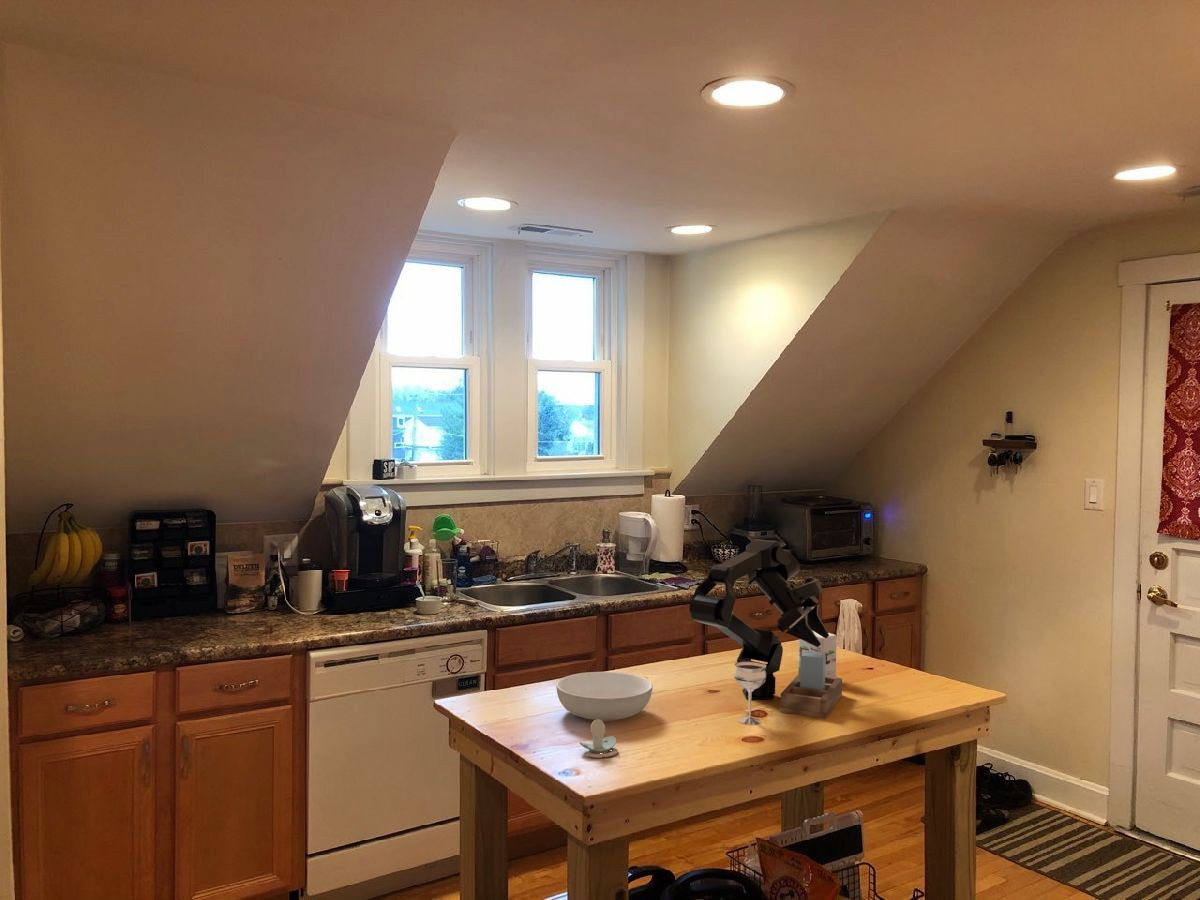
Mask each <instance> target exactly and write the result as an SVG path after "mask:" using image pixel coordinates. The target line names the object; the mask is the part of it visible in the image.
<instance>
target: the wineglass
mask: <svg viewBox="0 0 1200 900" xmlns="http://www.w3.org/2000/svg"><path fill="white" fill-rule="evenodd" d="M764 663H765V662H762V661H757V660H751V661H740V662H737V661H736V662H735V663H734V665H735V670H734V676H733V677H734V679H735V682H736V683H737V684H738V685H739V687H742V689H744V688H745V689H746V690H747V691H748V699H747V700H748V703H747V705H748V708H747V709H748V716H742V717H739V718H738V719H737V722H739V723H740V724H743V725H748V726H749V725H750V726H751V725H754V726H755V725H758V724H759V725H760V724H761V723H762V720H761V719H760V718H757V717H754V716H751V713H752V711H751V710H752V700H753V699H752V692H753V691H754V689H757V688H759V687H760V686H761V685H763V684H764V682H765V680H766V671H765V668H766V665H765V664H766V663H765V664H764Z"/></svg>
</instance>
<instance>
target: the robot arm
mask: <svg viewBox="0 0 1200 900" xmlns="http://www.w3.org/2000/svg"><path fill="white" fill-rule="evenodd" d="M780 543H781V542H779V541H775V540H767V539H766V540H765V539H757V538H755V539H753V540H751V541H750V542H749V543H748V544H747V545H746V546H745V550H744V551H743V552H741V553H739V554H737V555H735V556H733V557H731V558H729V559H728V560H726V561H723V562H722V563H720V564H717V565H716V564H715V565H712V566H711V567H710V570H709V572H708V574H707V577H706V578H704V579H703V581H701V582H700V584H698V585H697V587H696V588H695V590H694V593H693V595H692V598H691V601H690V603H689V610H688V611H689V613H690V618H691V619H692V620H693V621H694V622H697V623H701V624H705V625H708V626H712V627H715V628H717V629H718V630H719V631H721V633H723V634H725V635H726V636H728V637H729V638H731V640H733V641H734V642H736V643H738V644H739V645H741V646H742V648H741V650H740V653H739V654H738V656H737V659H736V663H737V662H740V661H756V662H761V663H764V664H765V665H766V668H765V671H766V680H765V682H764V684H763V685H761V686H760V687H759V688H757V689H754V691H753V692H752V699H751V700H775V694H776V678H777V677H775V673H777V672H779V671H780V668H781V664H782V658H783V655H784V654H783V652H784V650H783V649H784V648H783V645H782V642H781V641H780V638H779V637H780V636H778V635H775V633H774V632H772V631H771V630H767V629H760V628H755V627H751V626H750V625H749V624H747V623H746V622H744V621H743V620H742V619H741V618H739V617H738V616H736V615H735V614H734V606H735V604H736V595H735V589H734V587H735V583H736V581H738V580H740V579H742V578H744V577H745V576H747V577H748V580H747V584H748V585H749V586H750V585H752V584H753V583H755V584H756V585H757V587H758V588H759V589H760V590H761V591H762V592H763V593H764V594H765V596H767V598H768V600H769V601H768V603H769V605H770V606H772V605H774V606H775V607H776V608H777V609H778V611H779V612H781V615H780V618H779V619H777V621H776V624H777V625H776V626H777V628H778V630H780V631H781V633H784V632H785V631H786V632H785V634H788V635H791V636H793V637H795V638H797V639H798V640H799V639H801V640H804V641H806V642H808V643H810V644H812V645H814V646H816V647H819V646H820V645H821V643H820V641H819V640H818V638H817V637H816V635H815V634H814V632H816V633H817V634H819V635H821V636H822V637H824V638H827V637H828V636H829V634H828V633H829V632H828V630H827V628H826V626H825V625H824V623H823V621H822V619H821V616H820V614H819V608H820V604H819V602H820V601H819V599H817V596H820V595H822V593H824V590H823V587H822V582H821V581H820V580H819V578H815V577H814V576H813V575H812V576H809V577H806V578H805V579H804V583H803V584H801V585H798V586H796V584H794V583H792V582H790V583H789V582H788V581H790V580H791V579H792V578H793V577H794V576H795V575H796V574H798V573H799V572H800V566H801V565H800V563H799V559H797V558H796V557H795V556H794V555H793V554H792V551H791V549H785V548H783V547H782V546H781V544H780ZM717 584H718V585H719V584H720V585H724V587H725V592H726V593H725V596H724V598H723V597H717V596H710V595H708V594H709V593H710V592H711V591H712V590H713V589H714V588H715V587H716V586H717ZM815 605H816V606H815ZM788 628H789V629H788ZM787 629H788V630H787ZM813 631H814V632H813ZM741 691H742V694H743V696H744V697H745V699H747V700H748V691H747V690H746V689H745V688H742V690H741Z"/></svg>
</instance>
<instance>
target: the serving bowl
mask: <svg viewBox="0 0 1200 900" xmlns="http://www.w3.org/2000/svg"><path fill="white" fill-rule="evenodd" d="M555 686H556V687H555V688H556V694H557V698H558V700H559V702H560V704H561V705H562V706H563V708H564V709H565V710H566V711H568V712H569V713H571V714H573V715H575V716H577V717H580V718H582V719H587V720H591V721H594V720H597V719H599V720H601V721H603V722H612V721H613V720H614V721H619V720H623V719H627V718H630V717H632V716H635V715H637V714H639V713H641V712H642V711H643V710H644V709H645V708H646V707H647V706H648V704H649V702H650V700H651V698H652V693H653V688H654V687H653V683H652V682H651V681H650V680H648V679H647V678H645V677H643V676H639V675H635V674H630V673H624V672H619V671H618V672H614V671H594V672H593V671H592V672H591V671H590V672H589V671H587V672H580V673H576V674H575V673H574V674H571V675H567V676H564V677H561V678H560V679H558V680H557V682H556V685H555ZM618 719H619V720H618ZM614 721H613V722H614Z"/></svg>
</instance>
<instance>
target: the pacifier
mask: <svg viewBox="0 0 1200 900" xmlns="http://www.w3.org/2000/svg"><path fill="white" fill-rule="evenodd" d="M590 731H591V734H592V743H587V742H582V741H579V745H580V746H582V747H583V748H585V749H587V750H588V751H587V752H586V756H587V757H589V758H593V759H602V757H605V758H609V756H610V757H613V756H615V755H617V754H618V753H619V750H618V749H617V748H616V747H615V745H616V743H617V739H616V737H615V736H613V735H612V736H611V735H610V736H609V735H608V736H607V737H604V734H605V732H606V725H605V723H604V721H601V720H599V719H597V720H592V723H591V724H590ZM608 750H612V751H608ZM604 752H606V753H604ZM600 753H604V754H600Z"/></svg>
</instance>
